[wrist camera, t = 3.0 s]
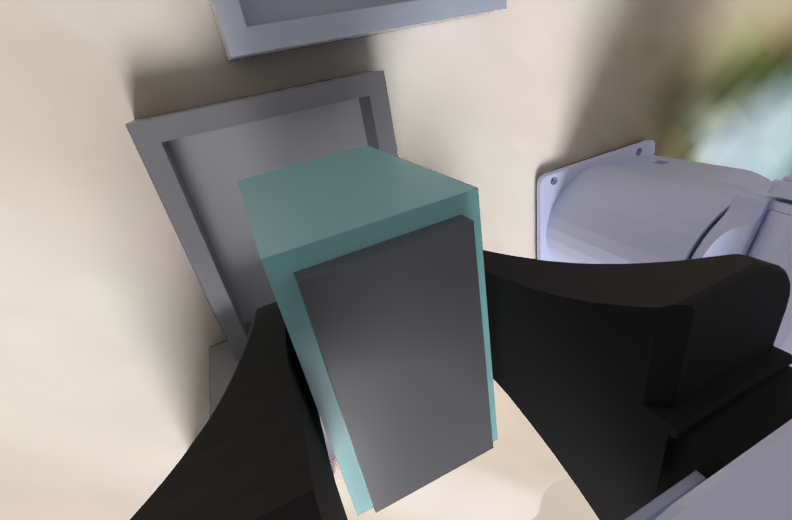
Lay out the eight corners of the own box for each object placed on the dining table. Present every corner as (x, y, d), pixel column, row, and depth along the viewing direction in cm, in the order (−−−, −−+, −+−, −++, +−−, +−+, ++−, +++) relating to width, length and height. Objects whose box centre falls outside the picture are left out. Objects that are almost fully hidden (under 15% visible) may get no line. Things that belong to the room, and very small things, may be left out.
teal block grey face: (367, 145, 12) (490, 192, 7) (403, 324, 16) (507, 450, 10) (236, 180, 11) (263, 269, 6) (305, 365, 14) (363, 531, 9)
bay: (392, 66, 18) (463, 60, 13) (432, 321, 25) (489, 382, 20) (98, 127, 15) (42, 150, 10) (237, 404, 22) (247, 502, 16)
